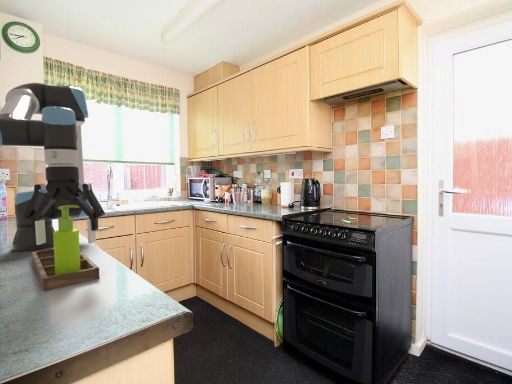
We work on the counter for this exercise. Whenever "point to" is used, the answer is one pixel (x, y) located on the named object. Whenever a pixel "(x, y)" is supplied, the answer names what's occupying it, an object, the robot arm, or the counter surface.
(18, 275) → the counter surface
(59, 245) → the soap dispenser
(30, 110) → the robot arm
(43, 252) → the pocket rack
